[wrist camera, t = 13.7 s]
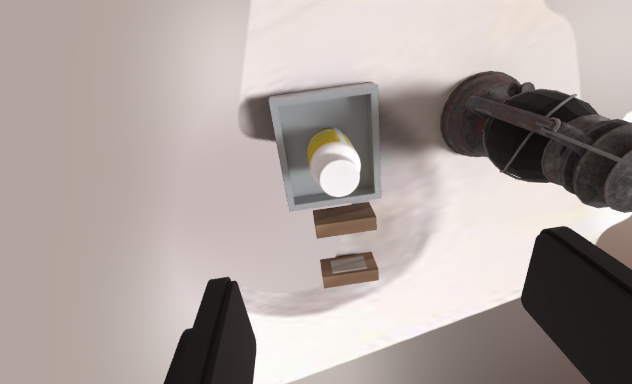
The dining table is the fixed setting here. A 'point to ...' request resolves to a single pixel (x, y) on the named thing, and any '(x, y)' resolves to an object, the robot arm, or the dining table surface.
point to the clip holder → (339, 224)
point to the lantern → (542, 138)
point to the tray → (318, 112)
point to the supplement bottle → (333, 162)
